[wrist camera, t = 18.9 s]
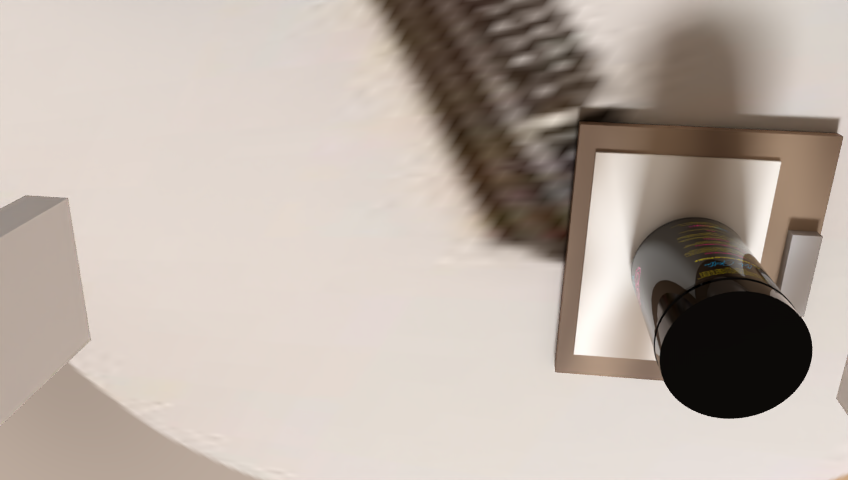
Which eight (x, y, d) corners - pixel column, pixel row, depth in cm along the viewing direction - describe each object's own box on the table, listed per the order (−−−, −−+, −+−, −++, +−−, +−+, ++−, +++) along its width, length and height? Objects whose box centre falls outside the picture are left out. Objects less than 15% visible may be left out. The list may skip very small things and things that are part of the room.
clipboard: (554, 365, 49) (555, 378, 47) (579, 121, 43) (581, 127, 41) (779, 382, 47) (788, 397, 46) (837, 133, 42) (849, 140, 40)
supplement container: (616, 227, 44) (645, 309, 34) (737, 198, 42) (802, 275, 33) (640, 327, 46) (673, 430, 36) (755, 303, 45) (822, 404, 35)
